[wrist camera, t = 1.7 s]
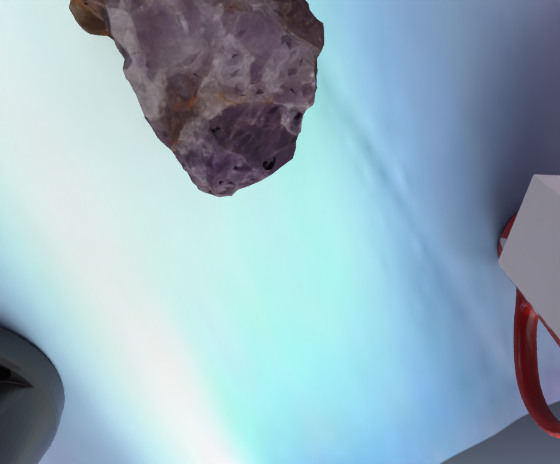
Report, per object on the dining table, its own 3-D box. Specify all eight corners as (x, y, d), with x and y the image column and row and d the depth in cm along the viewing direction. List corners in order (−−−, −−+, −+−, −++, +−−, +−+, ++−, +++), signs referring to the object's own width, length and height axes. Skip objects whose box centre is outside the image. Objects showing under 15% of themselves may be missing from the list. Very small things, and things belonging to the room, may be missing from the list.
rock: (178, 147, 31) (332, 67, 29) (181, 244, 24) (380, 150, 23) (33, -47, 23) (232, -172, 21) (-17, 21, 17) (261, -149, 15)
